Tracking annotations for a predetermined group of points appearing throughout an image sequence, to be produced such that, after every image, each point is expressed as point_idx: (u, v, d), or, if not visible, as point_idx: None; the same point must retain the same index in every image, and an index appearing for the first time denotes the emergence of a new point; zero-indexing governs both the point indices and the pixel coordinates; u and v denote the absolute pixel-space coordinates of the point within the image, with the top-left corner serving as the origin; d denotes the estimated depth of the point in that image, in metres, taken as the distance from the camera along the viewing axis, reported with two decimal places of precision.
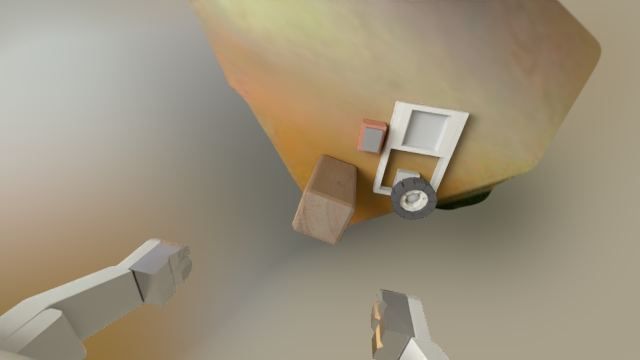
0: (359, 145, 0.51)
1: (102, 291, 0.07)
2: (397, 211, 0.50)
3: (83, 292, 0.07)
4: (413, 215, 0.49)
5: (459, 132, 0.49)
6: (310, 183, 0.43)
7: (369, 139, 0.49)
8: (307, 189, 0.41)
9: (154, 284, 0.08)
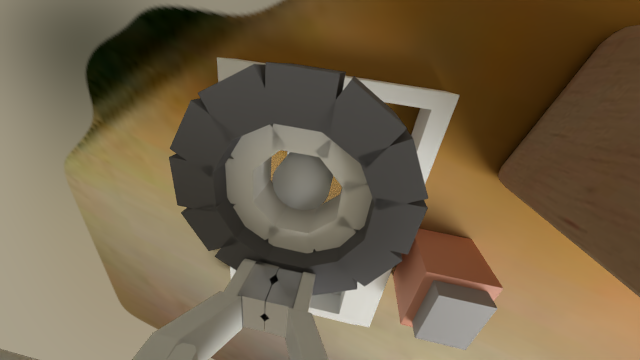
0: (491, 298, 0.16)
1: (218, 320, 0.07)
2: (387, 134, 0.06)
3: (205, 323, 0.07)
4: (272, 108, 0.07)
5: None
6: None
7: (460, 327, 0.16)
8: None
9: (261, 310, 0.08)
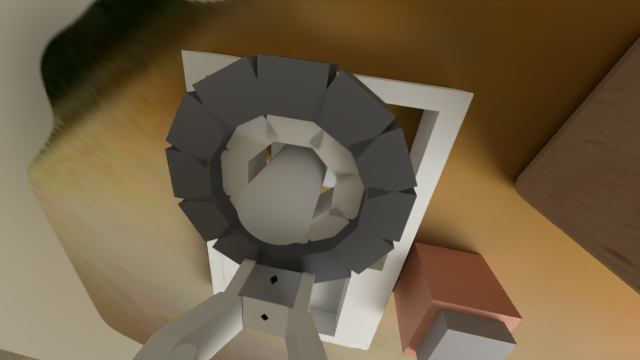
0: (507, 329, 0.14)
1: (218, 320, 0.07)
2: (376, 123, 0.07)
3: (205, 323, 0.07)
4: (264, 99, 0.07)
5: (216, 286, 0.20)
6: None
7: None
8: None
9: (262, 310, 0.08)
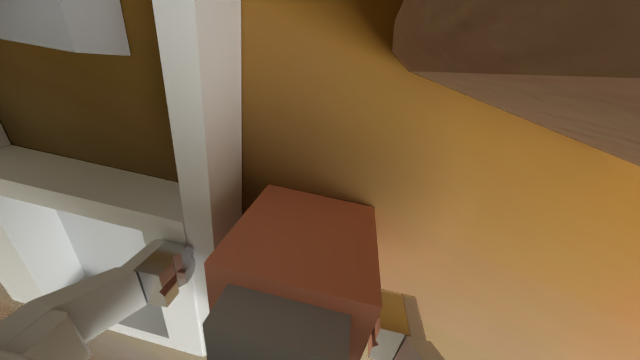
0: (362, 329, 0.07)
1: (106, 292, 0.07)
2: None
3: (87, 293, 0.07)
4: None
5: None
6: None
7: None
8: None
9: (158, 285, 0.08)
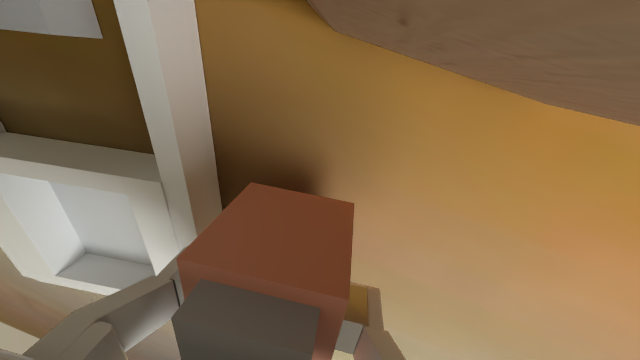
0: (332, 322, 0.07)
1: (145, 302, 0.07)
2: None
3: (129, 303, 0.07)
4: None
5: None
6: None
7: None
8: None
9: None
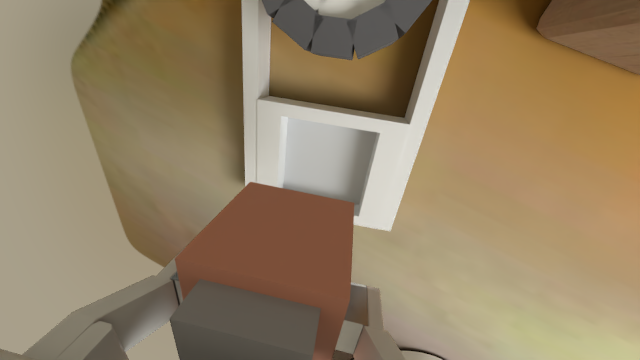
0: (333, 322, 0.07)
1: (145, 302, 0.07)
2: None
3: (128, 304, 0.07)
4: None
5: (248, 164, 0.21)
6: None
7: None
8: None
9: None
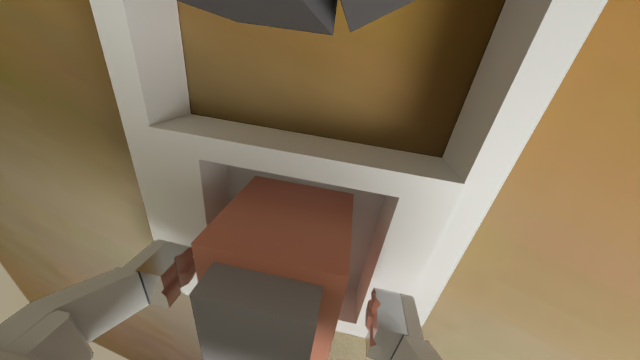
0: (334, 299, 0.07)
1: (109, 293, 0.07)
2: None
3: (90, 294, 0.07)
4: None
5: (158, 237, 0.12)
6: None
7: None
8: None
9: (160, 285, 0.08)
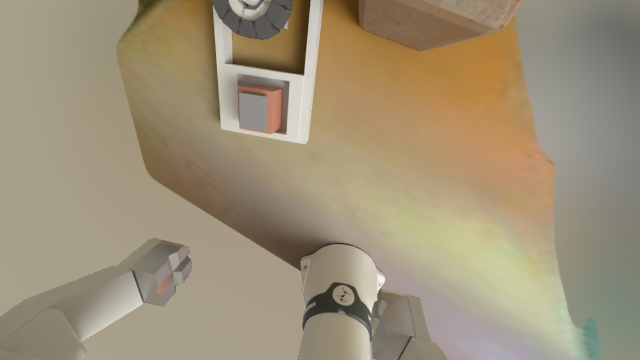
0: (270, 99, 0.32)
1: (102, 291, 0.07)
2: None
3: (83, 292, 0.07)
4: None
5: (221, 104, 0.36)
6: (476, 37, 0.16)
7: (255, 114, 0.32)
8: (495, 31, 0.14)
9: (154, 284, 0.08)
